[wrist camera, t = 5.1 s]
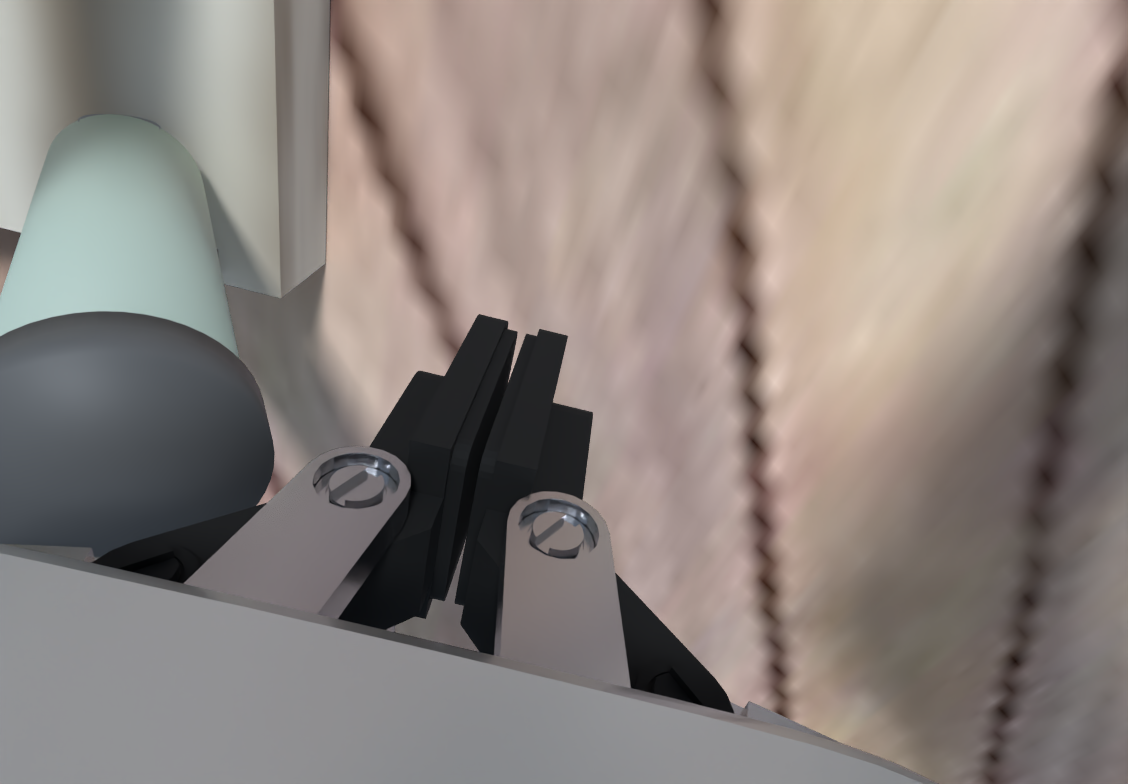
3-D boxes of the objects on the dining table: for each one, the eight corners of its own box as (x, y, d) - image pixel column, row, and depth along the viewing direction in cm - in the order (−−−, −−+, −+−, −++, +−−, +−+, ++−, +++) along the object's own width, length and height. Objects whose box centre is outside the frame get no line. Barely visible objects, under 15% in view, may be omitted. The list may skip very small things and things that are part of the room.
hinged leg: (204, 106, 16) (271, 343, 8) (215, 240, 18) (277, 542, 10) (22, 85, 14) (-133, 366, 6) (55, 237, 16) (-30, 603, 8)
